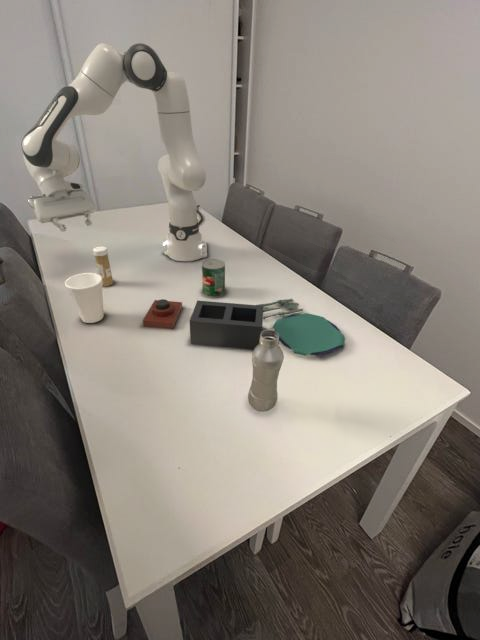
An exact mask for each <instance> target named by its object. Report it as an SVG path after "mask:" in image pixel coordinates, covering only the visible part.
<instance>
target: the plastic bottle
mask: <svg viewBox="0 0 480 640" xmlns="http://www.w3.org/2000/svg"><path fill="white" fill-rule="evenodd" d="M259 342H260V343H259V344H258V345H257V346H256V347H255V348H254V350H252V353H251V362H252V363H251V364H252V379H251V384H250V387H249V390H248V393H247V400H248V404H249V406H250V407H251V408H252V409H253V410H255V411H257V412H259V413H260V412H261V413H265V412H269V411H270V410H272V409H274V408H275V406H276V404H277V402H278V398H279V397H278V381H279V375H280V371H281V368H282V365H283V362H284V358H285V355H284V351H283V349H282V348H281V347H280V341H279V334H278V333H277V332H276V331H275V329H265V330H264V329H263V330H262V332H261V334H260V340H259Z"/></svg>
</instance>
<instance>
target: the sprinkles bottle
mask: <svg viewBox="0 0 480 640" xmlns="http://www.w3.org/2000/svg"><path fill="white" fill-rule="evenodd" d="M92 254H93V256H94V259H95V265H96V269H97V274H98V275H100V276H101V277H102V281H103V285H102V287H110V286H112V285H113V284H114V279H113V273H112V269H111V268H112V267H111V263H110V260H109V252H108V248H107V247H106V246H102V245H101V246H96V247H93V248H92Z"/></svg>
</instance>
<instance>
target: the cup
mask: <svg viewBox="0 0 480 640" xmlns="http://www.w3.org/2000/svg"><path fill="white" fill-rule="evenodd" d="M102 285H103V281H102V277H101V276H100V275H99V274H98V273H95V272H82V273H77V274H74V275H71V276H69V277H68V278H67V279H66V280H65V281H64V286H65V289H66V291H67V292H68V294H69V296H70V298H71V300H72V302H73V304H74V306H75V308H76V311H77V312H78V315H79V317H80V319H81V321H82V322H83V323H87V324H95V323H97V322H99V321H102V319H103V318H104V295H103V293H104V292H103V291H104V290H103V286H102Z"/></svg>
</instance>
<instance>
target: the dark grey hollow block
mask: <svg viewBox="0 0 480 640" xmlns="http://www.w3.org/2000/svg"><path fill="white" fill-rule="evenodd" d="M264 308H265V306H259V304H246V303H245V304H244V303H235V302H220V301H211V300H210V301H209V300H199V299H198V300H196V303H195V306H194V308H193V310H192V313H191V316H190V319H189V337H190V339H189V340H190V345H194V346H195V345H196V346H208V347H217V348H230V349H239V350H243V349H244V350H252V351H253V350H254V348H255V347H256V346H257V345H258V344H259V343H260V342H259V340H260V334H261V332H262V331H263V326H264V325H263V324H264V312H263V310H264Z"/></svg>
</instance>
